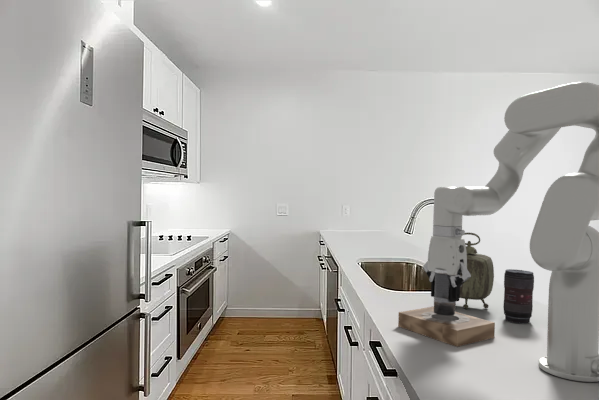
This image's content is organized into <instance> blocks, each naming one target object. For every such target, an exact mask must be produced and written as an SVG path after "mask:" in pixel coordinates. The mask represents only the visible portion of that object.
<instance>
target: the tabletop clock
mask: <svg viewBox="0 0 599 400" xmlns="http://www.w3.org/2000/svg"><path fill="white" fill-rule="evenodd" d="M465 235H471V236H474V237H476V238H477V239H478V241H477V242H474V243H472V242H471V240H468V241H467V242H465V245H466V253H467V270H468V271H469V273H470V274H471V277H470V278H469V279H468V280H466V282H464V283H463V284H462V286H460V298H459V299H464V302H465V303H464V304H463V306H462V307H463V309H465V310H468V309H469V304H468V300H473V301H474V300H475V301H477V300H478V301H479V300H480V301H481V302H482V303H483V304H482V305H483V306H482V307H483V308H484V309H488V308H489V304H488V303H486V302H485V299H487V298H488V297H489V296H490V295H491V293H492V291H493V287H494V279H495V278H494V277H495V271H494V268H495V267H494V262H493V260H492V257H490V256H489V255H486V254H481V253H478V251H477V249H476V247H474V246H476V245H478V244H480V243H481V238H480V236H479V234H476V233H474V232H465V234H464V235H462V237H463V236H465ZM460 276H462V275H460ZM456 281H457V280H456Z"/></svg>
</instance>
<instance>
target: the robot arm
mask: <svg viewBox="0 0 599 400" xmlns="http://www.w3.org/2000/svg"><path fill="white" fill-rule="evenodd" d="M503 119H504V124H505V126H506V128H507V129H508V131H507V132H506V133H505V134H504V136H503V137H502V138H501V139H500V141H499V142H498V143H497V144H496V145H495V147H493V156H494V157H495V159H496V160H497V161H498V168H497V170H496V172H495V173H494V175H493V177H492V178H490V180H489V181H488V183H486V185H485V186H476V185H475V186H472V185H471V186H467V185H465V186H457V187H456V186H438V187H436V188H435V190H434V194H433V221H432V236H431V238H430V241H429V245H428V252H427V253H428V254H427V261H426V262H425V264H423V266H422V269H423V270H424V271H425V273H426V276H427V277H428V278H429V279H428V280H429V282H430V283H431V284H430V285H431V286H430V296H431V298H432V297H433V298H434V287H435V268H436V269H441V270H446V271H447V275H449V276H450V279H451V283H452V287H450V302H456V303H457V302H459V301H460V299H461V298H460V286H462V284H463V283H464V282H466V280H468V279H469V278H470V277H471V274H470V273H469V271H468V270H467V253H466V246H467V245H465V243H466V241H465V238H463V236H465V235H464V234H465V233H466V231H465V230H464V229H463V216H466V217H467V216H468V217H471V216H473V217H474V216H475V217H476V216H490V215H494V214H495V213H497V212H499V211H500V210H501V209H502V208H503V207H504V206H505V205H506V204H507V203H508V202H509V201H510V200H511V198H512V197H513V196H514V195H515V194H516V192H517V191H518V189H519V187H520V184H521V182H522V180H523V177H524V176H523V175H524V172H525V170H526V168H527V167H528V166H529V164H530V163H531V162H532V161H533V160H534V159H535V158H536V157H537V156H538V154H540V153H541V151H543V149H544V148H545V147H546V146H547V145H548V144H549V142H550V141H552V139H553V138H554V137H555V136H556V134H558V132H559V131H560V130H561V129H562V128H565V127H572V126H573V127H581V128H584V129H585V128H586V129H587V128H588V129H592V130H594V131H595V135H594V137H593V139H592V141H591V142H590V143H589V145H588V146H587V148H586V150H585V152H584V155H583V158H582V162H581V163H580V166H579V169H578V171H577V172H572V173H567V174H564V175H562V176H560V177H558V178H557V179H555V180H554V181H553V182H552V184H550V187H549V188H548V189H547V190H546V193H545V195H544V197H543V201H542V202H541V203H542V204H541V206H540V209H539V213H538V215H537V217H536V220H535V223H534V226H533V230H532V231H531V232H532V233H531V234H530V239H529V253H530V255H531V258H532V260H533V261H534V263H535V264H536V265H537V266H539V267H540V268H542V269H544V270H546V271H551V273H550V278H549V285H548V286H549V287H548V301H547V302H548V305H547V307H548V309H547V334H546V335H547V338H546V340H547V341H546V356H543V357H540V358H539V359H538V367H539V368H540V369H541V370H542V371H544V372H546V373H548V374H550V375H553V376H555V377H559V378H562V379H566V380H570V381H576V382H584V383H587V382H588V383H594V382H597V383H598V382H599V231H598V230H597V229H596V228H594V227H592V226H591V225H589V224H590V222H591V221H598V220H599V84H596V83H593V82H589V81H576V82H571V83H567V84H561V85H558V86H555V87H552V88H547V89H543V90H539V91H538V90H537V91H535V92H531V93H528V94H524V95H522V96H519V97H518V98H516V99H515V100H513V101H512V102H511V103H510V104H509V105H508V107H507V108H506V111H505V113H504V118H503ZM462 235H463V236H462ZM460 275H462V276H460ZM455 277H456V279H455ZM456 280H457V281H456Z"/></svg>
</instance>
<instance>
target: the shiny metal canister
mask: <svg viewBox="0 0 599 400" xmlns="http://www.w3.org/2000/svg"><path fill="white" fill-rule="evenodd" d="M455 279H456V277H455ZM450 287H452V283H451V279H450V276H449V275H447V271H446V270H441V269H436V268H435V287H434V297H433V307H434V313H436V314H439V315H446V316H451V315H455V312H456V305H457V304H456V303H457V301H456V302H450Z"/></svg>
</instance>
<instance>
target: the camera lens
mask: <svg viewBox="0 0 599 400" xmlns="http://www.w3.org/2000/svg"><path fill="white" fill-rule="evenodd" d="M503 277H504V278H503V280H504V281H503V286H504V287H503V288H504V289H503V290H504V294H503V315H505V316H504V317H505V318H504V319H505V321H507V322H510V323H512V324H513V323H514V324H519V325H520V324H529V323H530V321H531V318H532V317H533V297H534V296H533V294H534V287H535V285H534V284H535V276H534V272H533V271H530V270H522V269H512V268H511V269H505V272H504V276H503Z"/></svg>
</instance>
